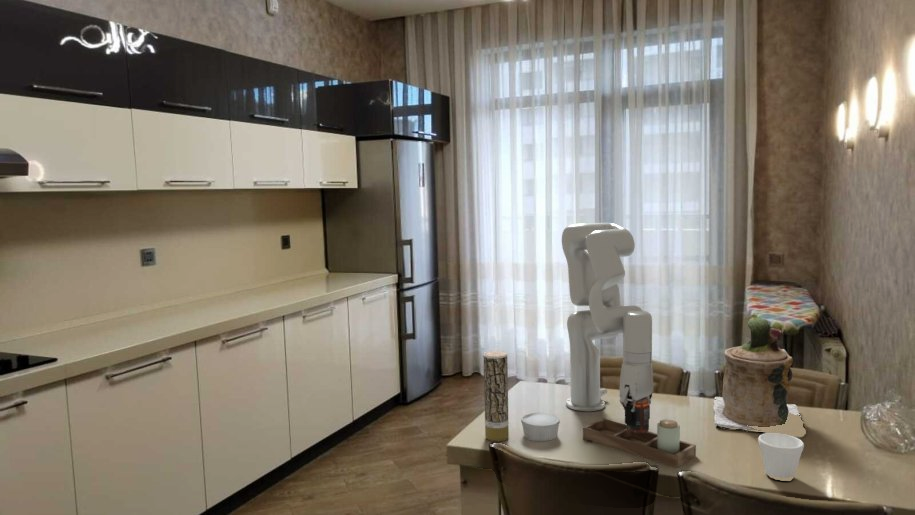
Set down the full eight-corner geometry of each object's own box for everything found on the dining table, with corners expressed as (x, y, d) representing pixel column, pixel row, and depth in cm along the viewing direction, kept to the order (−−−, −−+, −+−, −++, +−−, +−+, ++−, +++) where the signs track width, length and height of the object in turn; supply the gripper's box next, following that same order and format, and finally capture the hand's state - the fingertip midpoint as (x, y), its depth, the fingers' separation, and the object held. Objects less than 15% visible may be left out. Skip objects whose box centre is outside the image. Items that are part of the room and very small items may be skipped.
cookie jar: (713, 429, 188) (715, 322, 185) (713, 402, 211) (714, 307, 207) (808, 439, 179) (812, 327, 176) (797, 410, 202) (800, 310, 198)
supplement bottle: (649, 427, 177) (649, 387, 176) (648, 435, 171) (648, 394, 170) (627, 425, 179) (627, 385, 178) (625, 433, 173) (625, 392, 172)
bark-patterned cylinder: (507, 443, 182) (505, 357, 179) (483, 441, 183) (481, 356, 180) (510, 434, 188) (508, 350, 186) (487, 432, 190) (485, 350, 187)
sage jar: (664, 450, 173) (664, 417, 172) (683, 456, 169) (683, 422, 168) (653, 456, 169) (653, 422, 168) (672, 462, 165) (673, 428, 164)
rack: (603, 430, 190) (603, 418, 189) (695, 458, 169) (695, 445, 168) (582, 439, 183) (582, 427, 182) (676, 470, 162) (676, 456, 161)
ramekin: (529, 426, 194) (528, 409, 193) (564, 432, 189) (564, 414, 188) (515, 440, 184) (515, 422, 183) (553, 446, 179) (552, 427, 178)
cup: (766, 464, 164) (767, 429, 163) (809, 476, 157) (810, 439, 156) (750, 477, 157) (751, 440, 156) (793, 490, 150) (795, 452, 149)
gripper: (642, 348, 181) (642, 410, 183) (607, 360, 170) (607, 426, 172) (666, 353, 176) (666, 416, 178) (632, 365, 164) (632, 433, 166)
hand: (637, 420), depth 175 cm, fingers closed on supplement bottle, 6 cm apart
